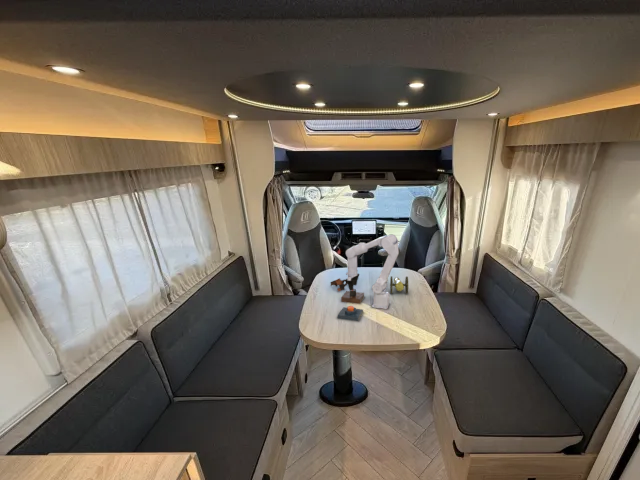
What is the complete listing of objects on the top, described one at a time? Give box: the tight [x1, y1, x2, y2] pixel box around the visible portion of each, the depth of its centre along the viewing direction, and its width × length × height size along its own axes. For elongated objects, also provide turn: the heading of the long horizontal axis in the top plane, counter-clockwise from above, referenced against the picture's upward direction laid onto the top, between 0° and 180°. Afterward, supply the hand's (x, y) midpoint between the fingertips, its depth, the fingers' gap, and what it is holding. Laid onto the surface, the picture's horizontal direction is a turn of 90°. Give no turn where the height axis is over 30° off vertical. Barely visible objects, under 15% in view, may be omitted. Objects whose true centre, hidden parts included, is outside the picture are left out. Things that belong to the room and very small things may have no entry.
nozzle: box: [346, 305, 355, 311], centre depth 174 cm, size 4×4×2 cm
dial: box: [349, 288, 357, 296], centre depth 194 cm, size 4×4×4 cm
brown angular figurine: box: [329, 278, 348, 293], centre depth 211 cm, size 12×10×8 cm
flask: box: [337, 306, 364, 322], centre depth 175 cm, size 12×10×4 cm
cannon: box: [389, 275, 409, 295], centre depth 208 cm, size 25×12×11 cm, turn 179°
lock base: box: [340, 290, 365, 305], centre depth 195 cm, size 12×10×3 cm
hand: (352, 287), depth 192 cm, fingers open, 7 cm apart
